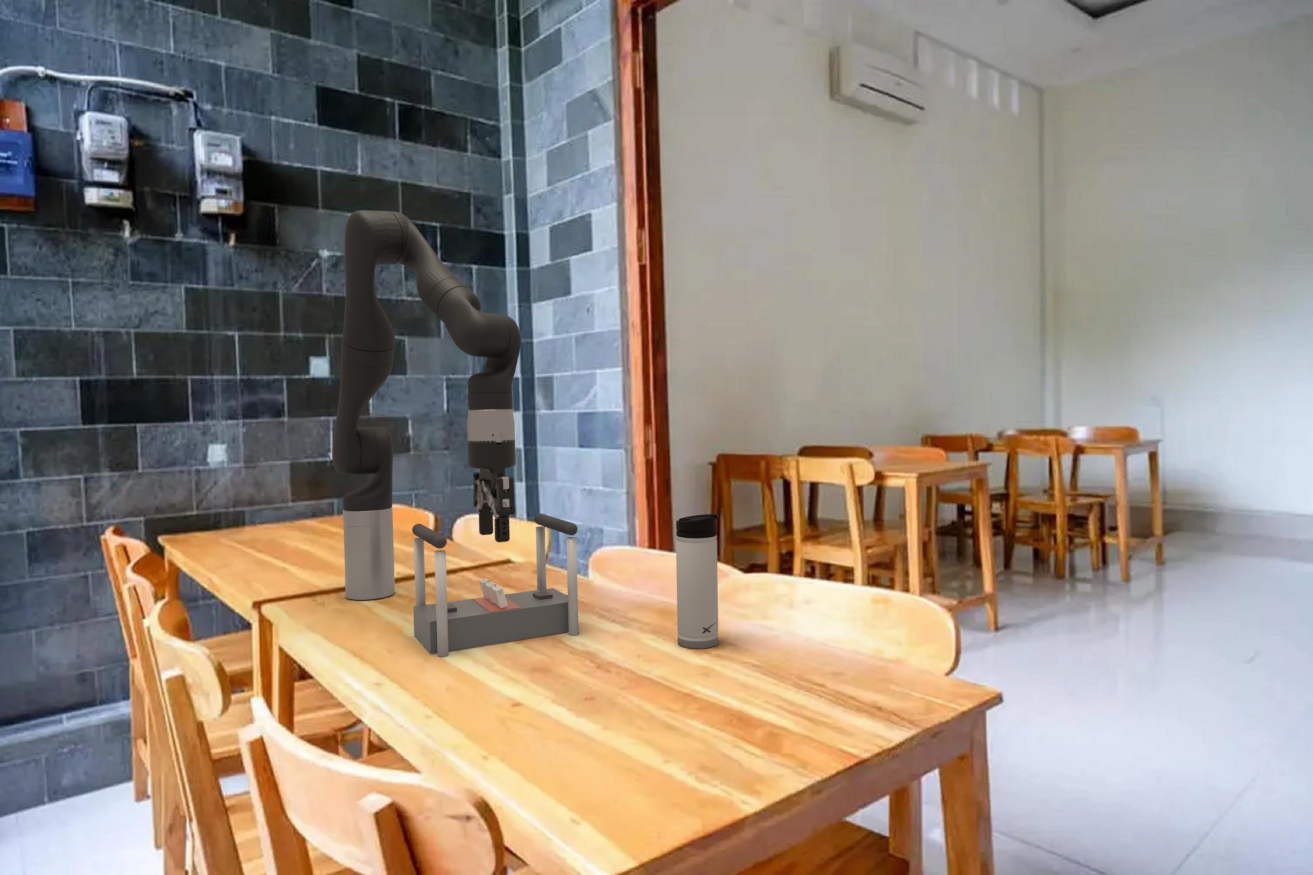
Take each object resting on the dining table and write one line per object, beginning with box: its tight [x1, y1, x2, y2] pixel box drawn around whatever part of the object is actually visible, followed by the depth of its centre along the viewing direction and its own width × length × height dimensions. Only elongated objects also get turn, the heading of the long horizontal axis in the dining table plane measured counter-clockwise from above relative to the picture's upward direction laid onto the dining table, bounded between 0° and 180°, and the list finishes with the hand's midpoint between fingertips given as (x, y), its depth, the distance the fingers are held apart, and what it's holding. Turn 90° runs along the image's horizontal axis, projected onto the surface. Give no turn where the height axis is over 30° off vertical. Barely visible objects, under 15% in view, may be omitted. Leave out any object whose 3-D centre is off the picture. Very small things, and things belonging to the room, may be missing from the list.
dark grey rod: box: [534, 513, 578, 536], centre depth 137 cm, size 16×2×2 cm, turn 29°
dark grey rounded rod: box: [411, 523, 448, 550], centre depth 127 cm, size 16×2×2 cm, turn 29°
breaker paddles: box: [478, 577, 508, 608], centre depth 132 cm, size 9×1×3 cm, turn 29°
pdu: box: [412, 525, 580, 658], centre depth 132 cm, size 16×24×16 cm, turn 119°
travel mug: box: [675, 512, 720, 650], centre depth 125 cm, size 6×7×20 cm
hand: (494, 538), depth 132 cm, fingers open, 8 cm apart
